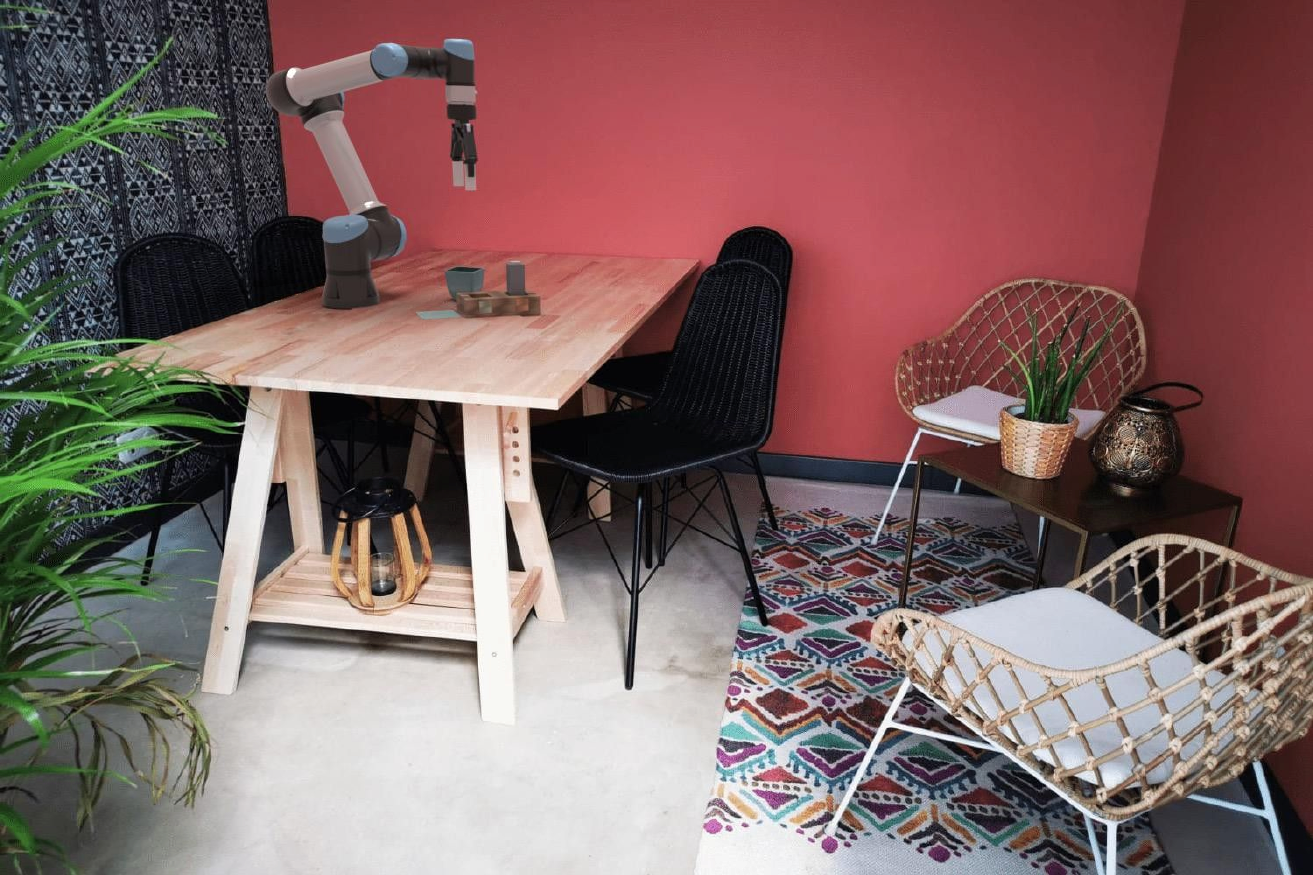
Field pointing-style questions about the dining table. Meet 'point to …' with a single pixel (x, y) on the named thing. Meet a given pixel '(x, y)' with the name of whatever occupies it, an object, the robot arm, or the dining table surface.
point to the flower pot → (464, 280)
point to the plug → (515, 278)
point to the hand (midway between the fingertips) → (464, 188)
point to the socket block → (497, 304)
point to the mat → (438, 314)
